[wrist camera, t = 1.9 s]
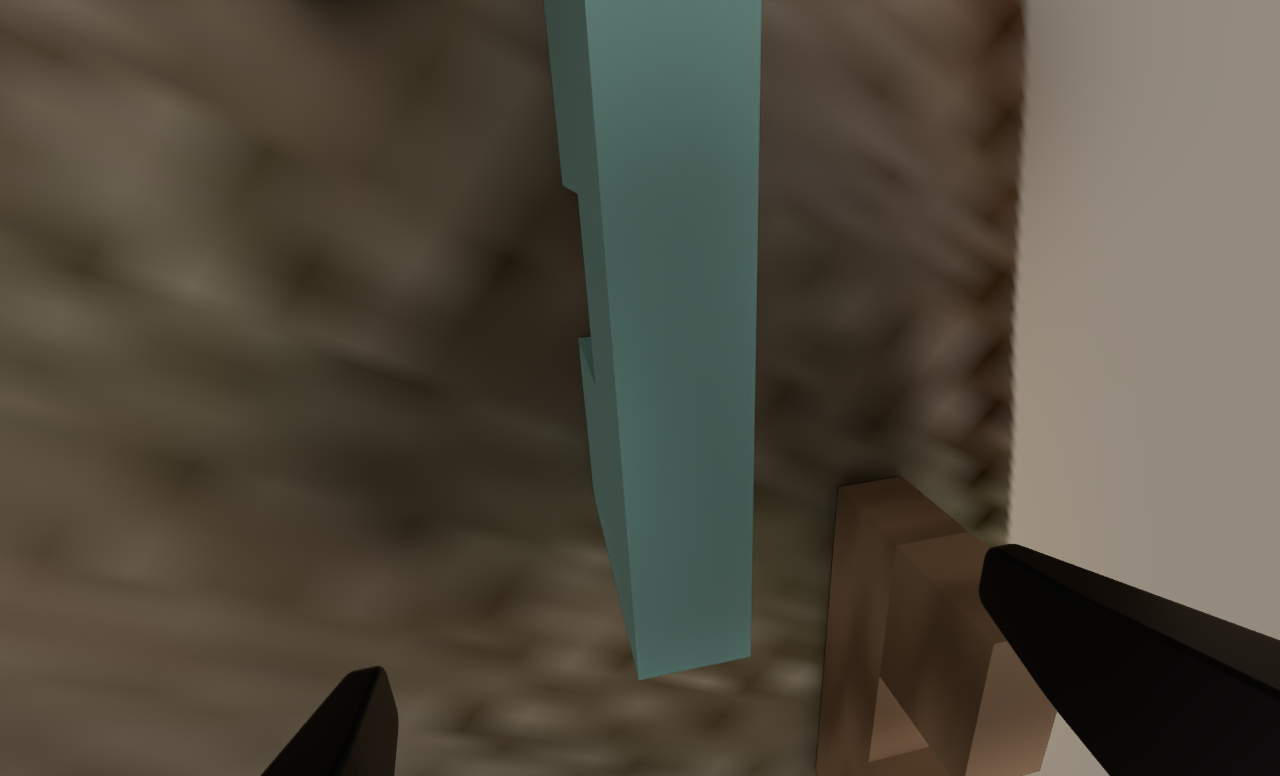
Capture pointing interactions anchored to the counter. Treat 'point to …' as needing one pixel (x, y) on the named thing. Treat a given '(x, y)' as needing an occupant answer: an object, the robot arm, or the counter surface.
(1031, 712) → the notched walnut block
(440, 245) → the counter surface
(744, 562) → the notched teal slat
